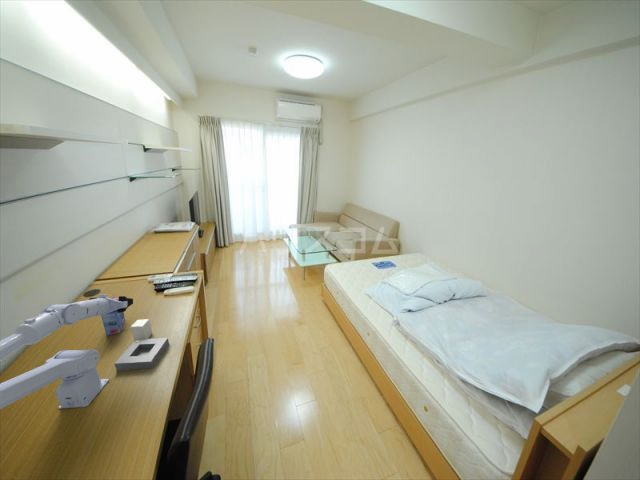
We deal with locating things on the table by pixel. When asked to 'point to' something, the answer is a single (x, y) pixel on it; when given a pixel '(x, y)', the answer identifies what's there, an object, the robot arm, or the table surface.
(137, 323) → the brick
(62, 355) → the robot arm
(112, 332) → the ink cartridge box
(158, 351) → the block
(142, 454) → the table surface
